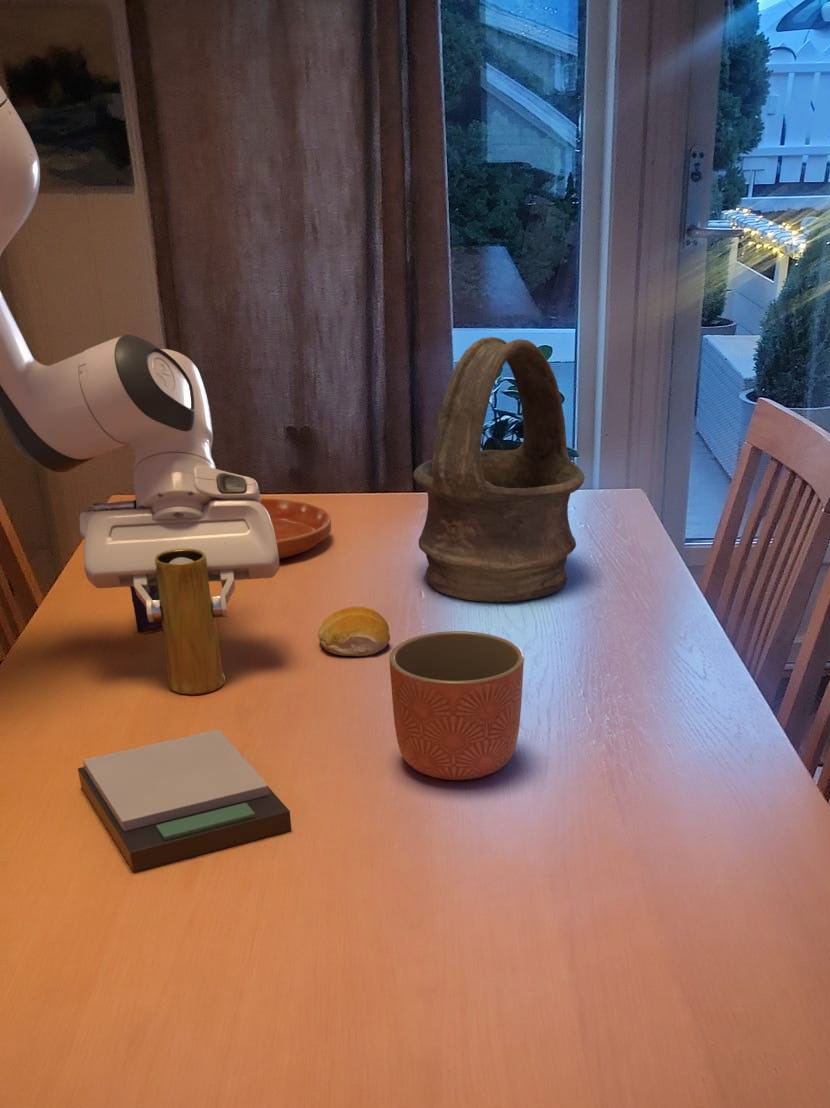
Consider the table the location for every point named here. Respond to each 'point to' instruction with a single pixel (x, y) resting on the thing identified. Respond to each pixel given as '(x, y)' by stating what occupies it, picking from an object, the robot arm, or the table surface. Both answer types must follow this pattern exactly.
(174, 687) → the vase
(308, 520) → the saucer
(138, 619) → the flask
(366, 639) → the bread roll
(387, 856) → the table surface
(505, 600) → the clay pot
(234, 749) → the scale
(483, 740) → the planter
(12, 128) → the robot arm
